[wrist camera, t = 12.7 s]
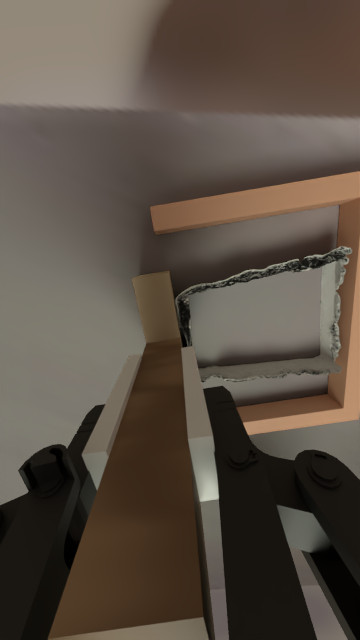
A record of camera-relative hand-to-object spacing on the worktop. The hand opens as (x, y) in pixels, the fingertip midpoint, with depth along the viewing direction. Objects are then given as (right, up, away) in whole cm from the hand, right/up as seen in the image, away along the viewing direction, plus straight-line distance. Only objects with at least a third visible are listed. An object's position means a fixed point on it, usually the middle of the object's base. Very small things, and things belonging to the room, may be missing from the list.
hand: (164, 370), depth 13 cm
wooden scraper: (0, +1, +5) cm, 6 cm away
